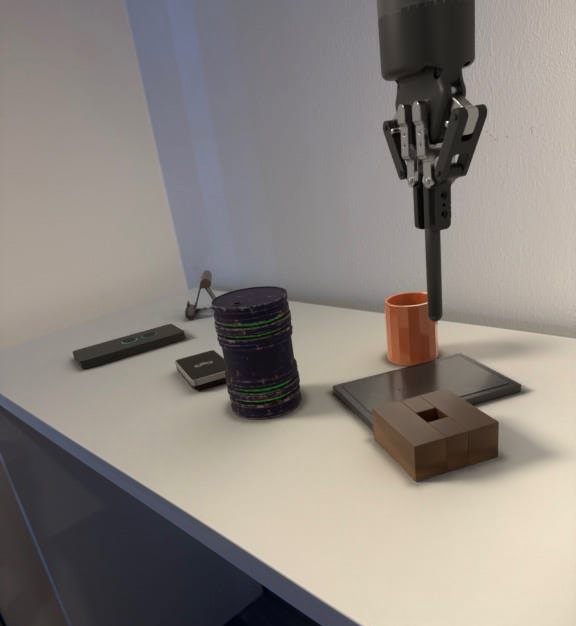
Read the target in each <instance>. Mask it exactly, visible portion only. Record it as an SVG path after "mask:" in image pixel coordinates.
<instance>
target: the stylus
mask: <svg viewBox="0 0 576 626" xmlns="http://www.w3.org/2000/svg"><path fill="white" fill-rule="evenodd" d="M424 189H427V188H426V187H425V185H424V176H423V200H424ZM424 226H425V201H424ZM441 238H442V237H441V230H439V231H434V232H433V231H428V230H427V229H426V227H425V229H424V247H425V249H424V251H425V252H424V253H425V276H426V277H425V278H426V292H427V304H428V317H429V319H430V320H431V321H434V322H436V321H438V322H439V321H440V320H441V319H442V318H443V285H442V284H443V281H442V280H443V278H442V246H441V243H442V240H441Z"/></svg>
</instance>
